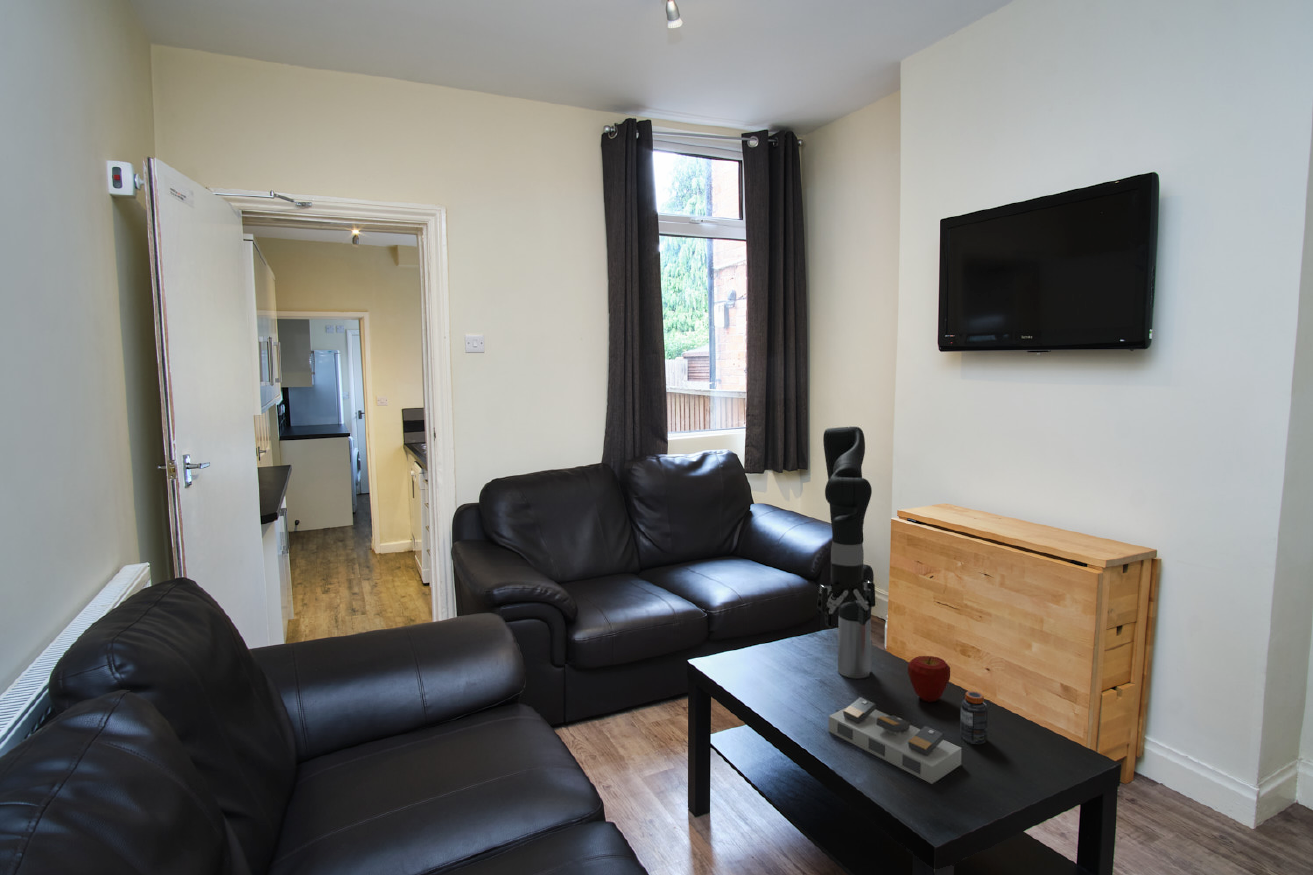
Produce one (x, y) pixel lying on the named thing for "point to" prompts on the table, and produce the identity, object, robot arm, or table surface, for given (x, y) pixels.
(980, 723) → the pill bottle
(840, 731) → the power strip
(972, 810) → the table surface
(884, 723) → the block
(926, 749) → the rocker
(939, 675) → the apple
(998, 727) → the table surface
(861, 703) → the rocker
